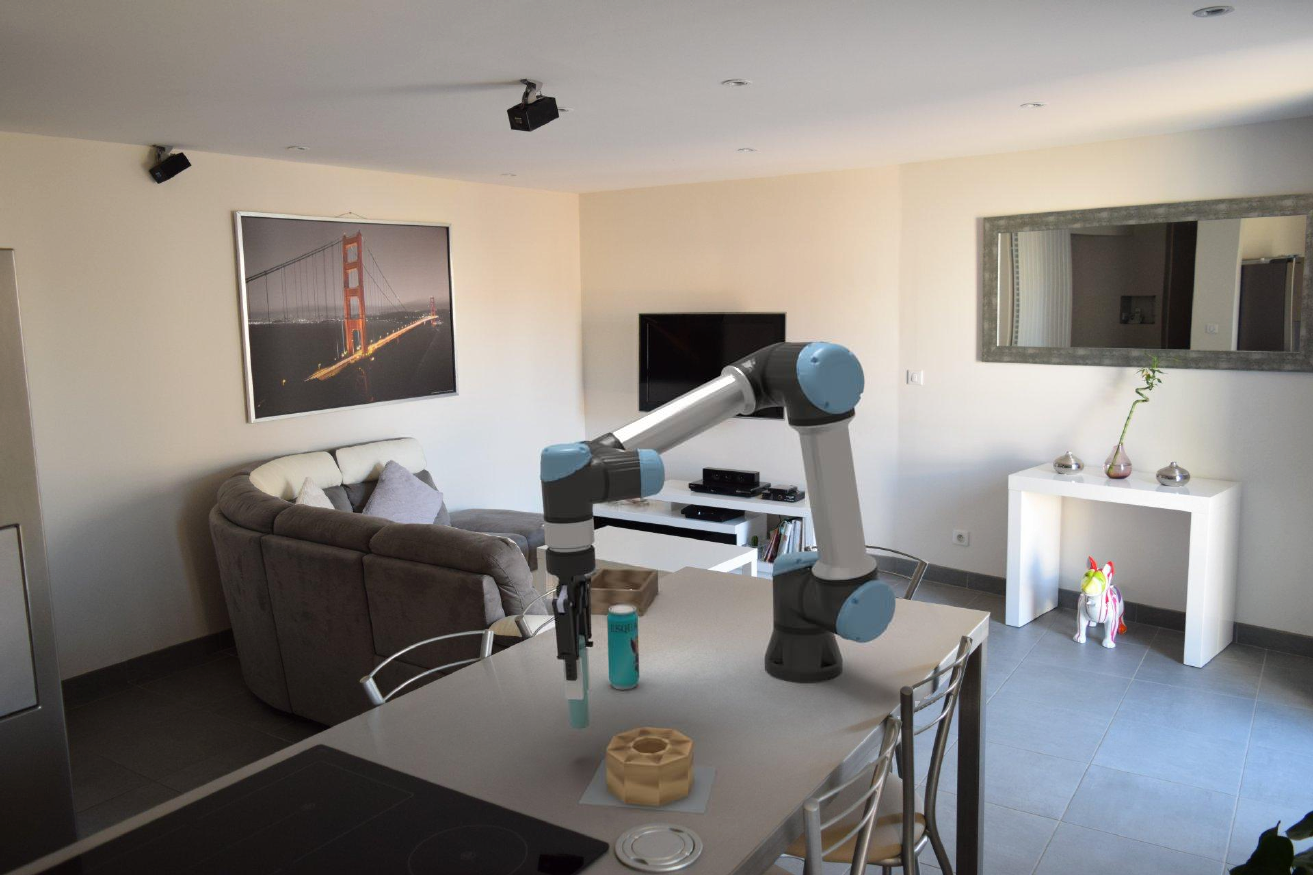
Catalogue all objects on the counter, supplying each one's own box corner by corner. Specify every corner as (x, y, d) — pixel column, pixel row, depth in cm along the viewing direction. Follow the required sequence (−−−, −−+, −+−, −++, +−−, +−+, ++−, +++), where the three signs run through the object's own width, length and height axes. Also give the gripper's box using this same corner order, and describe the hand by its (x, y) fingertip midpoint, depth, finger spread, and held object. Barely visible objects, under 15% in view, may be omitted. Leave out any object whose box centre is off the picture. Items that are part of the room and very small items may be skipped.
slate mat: (717, 768, 142) (717, 766, 142) (704, 816, 129) (704, 813, 129) (603, 760, 146) (603, 758, 146) (578, 805, 132) (578, 803, 132)
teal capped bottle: (591, 720, 147) (587, 634, 145) (586, 729, 144) (581, 641, 142) (572, 719, 147) (568, 634, 145) (567, 728, 144) (562, 641, 142)
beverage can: (635, 691, 173) (633, 613, 171) (605, 690, 174) (603, 612, 173) (642, 680, 179) (640, 604, 177) (613, 678, 180) (611, 603, 178)
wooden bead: (697, 768, 142) (696, 730, 141) (684, 808, 130) (683, 767, 130) (620, 762, 144) (619, 725, 144) (600, 801, 133) (599, 761, 132)
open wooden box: (658, 593, 237) (657, 570, 236) (642, 616, 218) (641, 591, 218) (601, 591, 240) (600, 568, 239) (580, 613, 221) (579, 589, 221)
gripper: (561, 533, 150) (569, 672, 153) (529, 559, 135) (538, 714, 138) (606, 533, 149) (613, 674, 152) (579, 560, 133) (587, 716, 136)
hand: (577, 693), depth 145 cm, fingers closed on teal capped bottle, 3 cm apart
